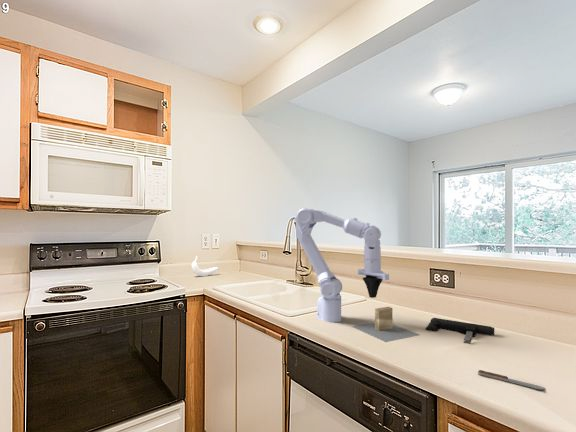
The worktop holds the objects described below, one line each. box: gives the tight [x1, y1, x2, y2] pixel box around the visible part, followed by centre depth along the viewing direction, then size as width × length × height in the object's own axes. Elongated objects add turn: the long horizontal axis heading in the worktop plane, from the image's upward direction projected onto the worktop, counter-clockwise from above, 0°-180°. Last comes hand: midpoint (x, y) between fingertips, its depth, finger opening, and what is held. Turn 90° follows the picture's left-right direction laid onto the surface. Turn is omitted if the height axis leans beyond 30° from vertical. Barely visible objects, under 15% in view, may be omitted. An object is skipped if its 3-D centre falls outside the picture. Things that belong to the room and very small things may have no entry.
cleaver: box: [477, 369, 546, 391], centre depth 80 cm, size 13×2×5 cm
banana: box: [190, 255, 219, 277], centre depth 229 cm, size 5×19×15 cm, turn 134°
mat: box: [351, 321, 421, 343], centre depth 114 cm, size 17×15×1 cm
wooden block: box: [374, 306, 393, 331], centre depth 116 cm, size 2×6×7 cm, turn 117°
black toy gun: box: [425, 317, 496, 345], centre depth 113 cm, size 3×20×16 cm
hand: (372, 297), depth 122 cm, fingers closed
